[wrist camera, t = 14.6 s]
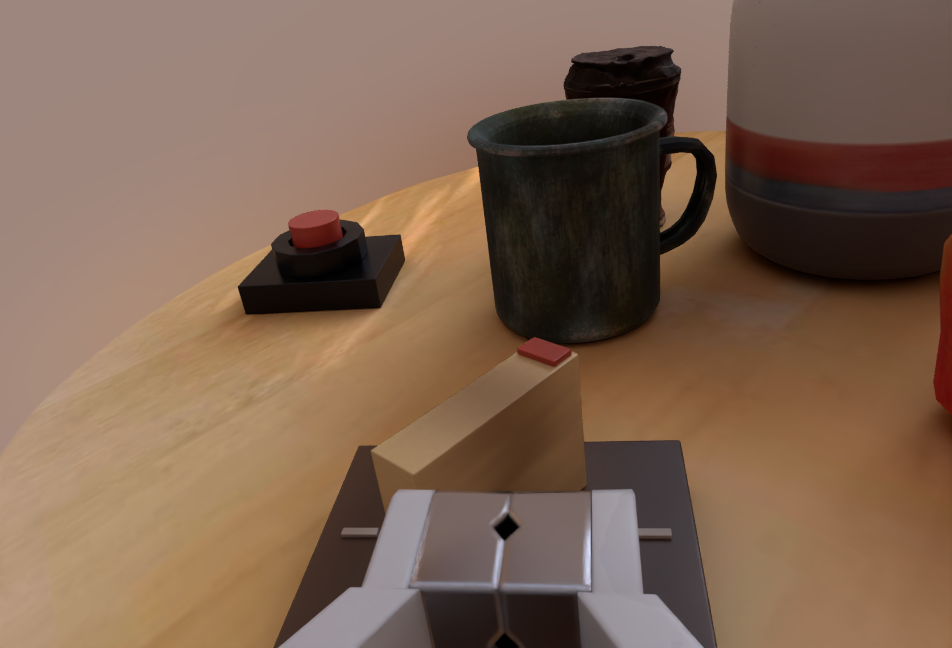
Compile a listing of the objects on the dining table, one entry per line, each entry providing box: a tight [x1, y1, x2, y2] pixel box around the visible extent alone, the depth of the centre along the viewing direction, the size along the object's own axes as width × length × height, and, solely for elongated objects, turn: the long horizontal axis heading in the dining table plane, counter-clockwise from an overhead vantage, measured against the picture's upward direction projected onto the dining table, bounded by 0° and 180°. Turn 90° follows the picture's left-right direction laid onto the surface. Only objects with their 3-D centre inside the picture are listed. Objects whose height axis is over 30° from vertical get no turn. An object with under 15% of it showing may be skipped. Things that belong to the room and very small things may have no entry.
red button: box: [288, 210, 343, 248], centre depth 54 cm, size 4×4×2 cm
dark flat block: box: [273, 440, 717, 648], centre depth 28 cm, size 14×12×3 cm
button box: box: [238, 220, 405, 314], centre depth 55 cm, size 10×8×4 cm
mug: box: [467, 98, 717, 343], centre depth 45 cm, size 11×15×12 cm
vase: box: [725, 0, 952, 280], centre depth 46 cm, size 17×17×24 cm
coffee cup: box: [564, 46, 681, 225], centre depth 57 cm, size 9×8×13 cm
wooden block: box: [371, 337, 587, 515], centre depth 26 cm, size 8×2×6 cm, turn 137°
